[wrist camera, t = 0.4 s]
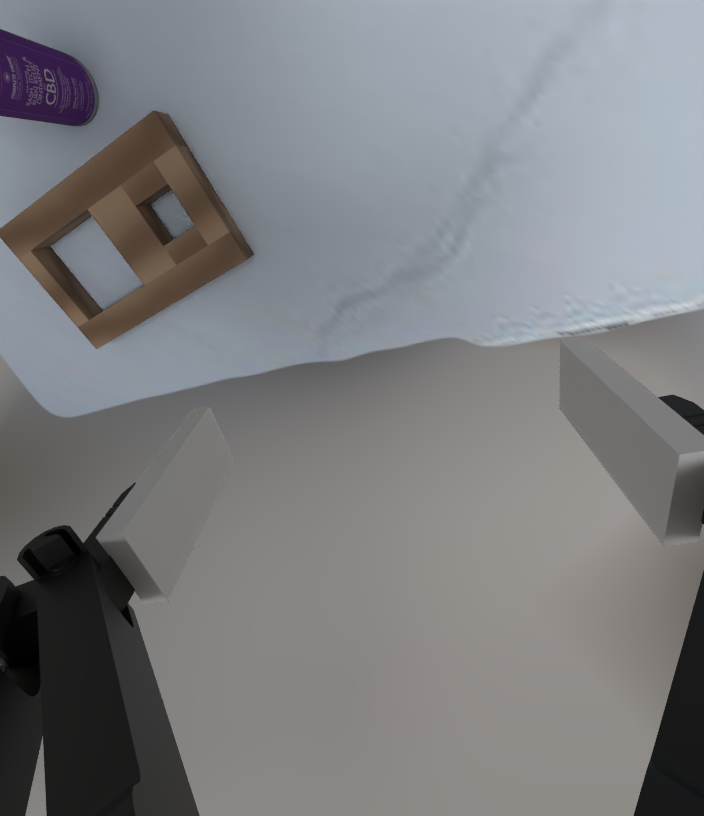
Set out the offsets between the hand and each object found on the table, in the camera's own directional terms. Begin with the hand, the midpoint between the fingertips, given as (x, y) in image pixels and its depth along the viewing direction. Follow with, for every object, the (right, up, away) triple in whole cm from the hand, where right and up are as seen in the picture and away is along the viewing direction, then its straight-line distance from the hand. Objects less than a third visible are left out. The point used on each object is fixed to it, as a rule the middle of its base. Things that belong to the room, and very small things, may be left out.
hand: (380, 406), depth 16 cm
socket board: (-21, +15, +23) cm, 34 cm away
